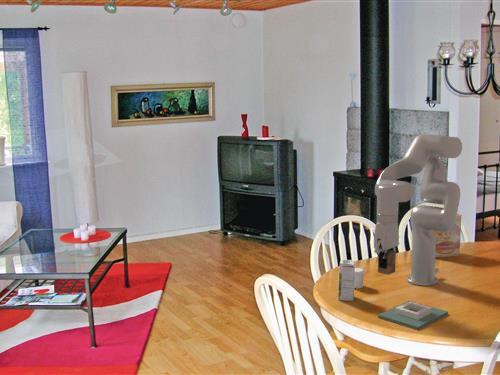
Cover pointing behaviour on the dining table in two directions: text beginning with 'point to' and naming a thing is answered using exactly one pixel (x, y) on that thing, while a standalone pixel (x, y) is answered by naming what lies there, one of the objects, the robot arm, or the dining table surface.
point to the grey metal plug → (388, 262)
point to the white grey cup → (359, 277)
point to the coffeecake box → (449, 240)
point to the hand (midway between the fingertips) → (386, 265)
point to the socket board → (413, 314)
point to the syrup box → (346, 280)
